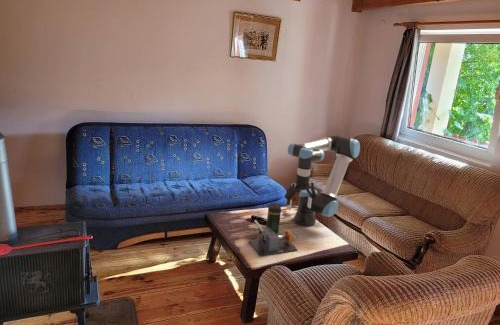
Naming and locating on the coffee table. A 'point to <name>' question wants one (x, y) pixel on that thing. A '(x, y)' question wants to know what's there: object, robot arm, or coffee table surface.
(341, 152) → the robot arm
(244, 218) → the coffee table surface
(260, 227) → the keeper
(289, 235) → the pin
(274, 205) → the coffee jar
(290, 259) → the coffee table surface
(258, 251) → the hitch block
